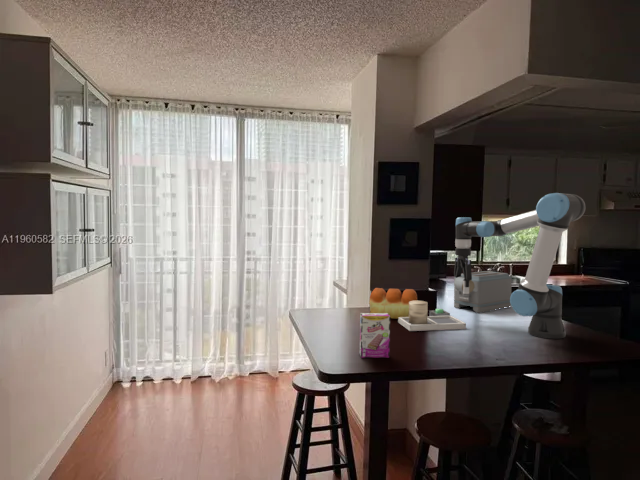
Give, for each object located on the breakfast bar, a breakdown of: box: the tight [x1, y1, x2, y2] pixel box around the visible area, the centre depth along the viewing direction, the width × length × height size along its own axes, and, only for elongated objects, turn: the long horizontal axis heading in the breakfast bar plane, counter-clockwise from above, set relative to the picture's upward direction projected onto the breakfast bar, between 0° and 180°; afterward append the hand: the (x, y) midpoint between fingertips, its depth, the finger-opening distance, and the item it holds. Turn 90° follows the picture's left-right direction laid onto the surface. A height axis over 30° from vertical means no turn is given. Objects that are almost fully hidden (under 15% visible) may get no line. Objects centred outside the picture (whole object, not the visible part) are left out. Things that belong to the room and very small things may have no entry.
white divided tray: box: [397, 315, 467, 332], centre depth 214 cm, size 17×28×3 cm, turn 98°
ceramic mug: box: [453, 276, 478, 293], centre depth 221 cm, size 11×8×8 cm
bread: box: [368, 287, 418, 320], centre depth 236 cm, size 25×12×15 cm, turn 76°
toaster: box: [453, 270, 513, 314], centre depth 256 cm, size 19×33×20 cm, turn 122°
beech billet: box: [409, 300, 429, 325], centre depth 213 cm, size 9×9×10 cm
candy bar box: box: [359, 312, 391, 359], centre depth 166 cm, size 11×5×16 cm, turn 92°
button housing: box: [428, 309, 451, 316], centre depth 229 cm, size 8×8×4 cm
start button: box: [435, 308, 444, 313], centre depth 229 cm, size 4×4×4 cm
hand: (462, 291), depth 221 cm, fingers closed on ceramic mug, 8 cm apart
